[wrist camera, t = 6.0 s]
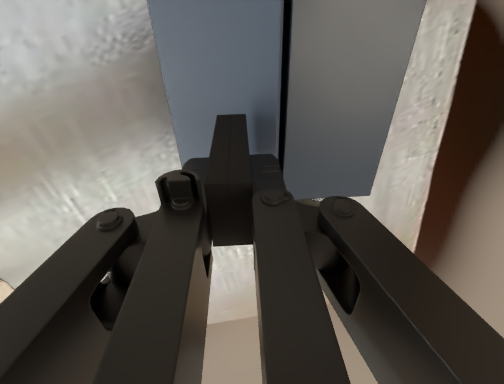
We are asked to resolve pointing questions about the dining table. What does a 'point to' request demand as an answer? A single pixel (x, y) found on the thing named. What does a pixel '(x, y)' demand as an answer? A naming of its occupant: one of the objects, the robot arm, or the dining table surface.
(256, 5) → the flap
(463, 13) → the dining table surface
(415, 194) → the dining table surface
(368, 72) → the carton
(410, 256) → the robot arm
